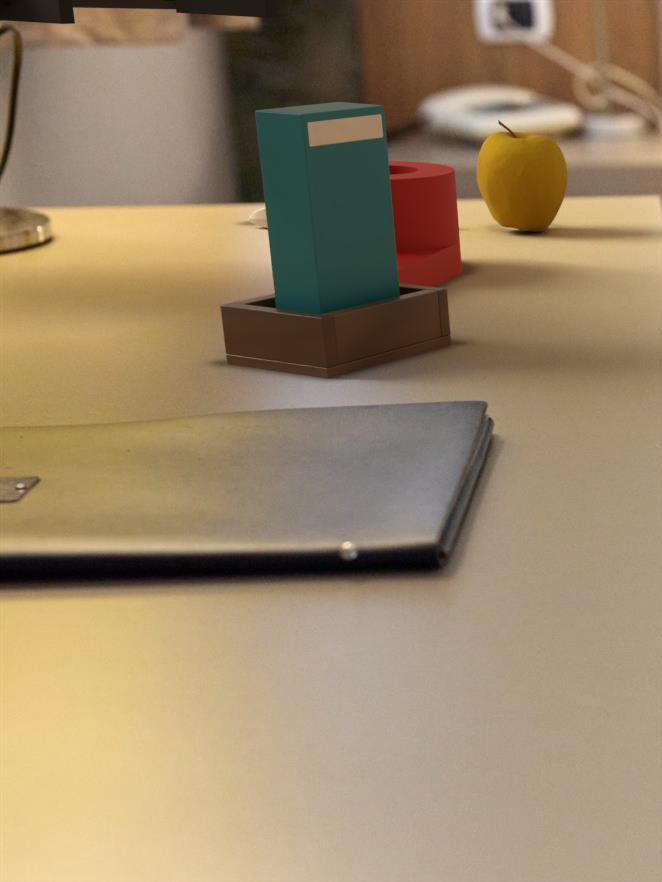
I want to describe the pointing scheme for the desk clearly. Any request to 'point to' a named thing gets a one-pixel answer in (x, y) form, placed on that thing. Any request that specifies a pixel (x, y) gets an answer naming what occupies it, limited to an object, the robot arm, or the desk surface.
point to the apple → (522, 179)
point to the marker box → (328, 205)
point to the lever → (425, 222)
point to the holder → (335, 333)
